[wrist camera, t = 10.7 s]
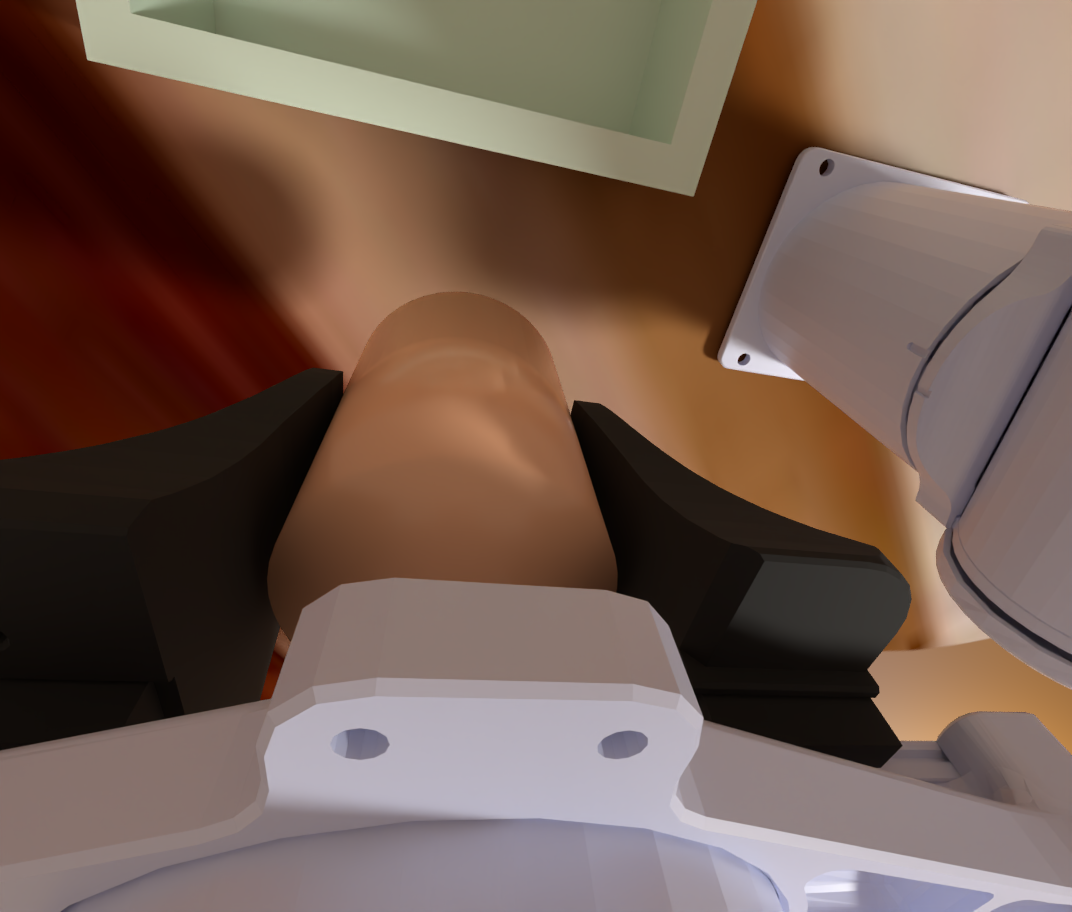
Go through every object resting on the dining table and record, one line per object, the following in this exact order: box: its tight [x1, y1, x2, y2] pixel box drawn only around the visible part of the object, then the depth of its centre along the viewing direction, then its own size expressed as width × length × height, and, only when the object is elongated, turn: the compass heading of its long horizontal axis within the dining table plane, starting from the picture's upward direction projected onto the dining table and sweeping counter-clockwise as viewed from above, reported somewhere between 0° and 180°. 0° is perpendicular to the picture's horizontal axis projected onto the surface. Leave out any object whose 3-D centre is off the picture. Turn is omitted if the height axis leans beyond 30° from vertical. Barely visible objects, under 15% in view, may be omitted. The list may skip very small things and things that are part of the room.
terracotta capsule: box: [267, 292, 618, 641], centre depth 11 cm, size 5×5×7 cm
